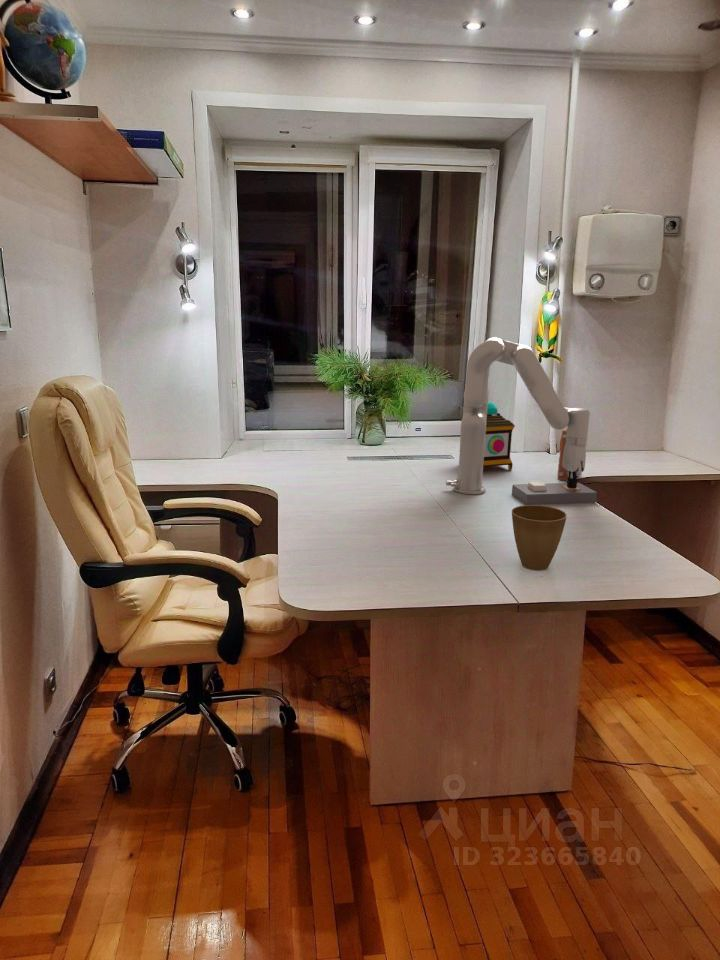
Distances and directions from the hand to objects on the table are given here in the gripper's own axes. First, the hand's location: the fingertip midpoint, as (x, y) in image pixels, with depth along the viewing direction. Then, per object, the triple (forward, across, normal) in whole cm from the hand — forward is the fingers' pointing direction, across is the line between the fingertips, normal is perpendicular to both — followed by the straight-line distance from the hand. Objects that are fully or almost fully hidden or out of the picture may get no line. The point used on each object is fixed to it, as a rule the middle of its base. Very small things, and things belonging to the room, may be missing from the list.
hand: (571, 487), depth 253 cm
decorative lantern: (+4, -50, -16) cm, 53 cm away
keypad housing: (+4, 0, -7) cm, 8 cm away
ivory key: (+1, 0, -14) cm, 14 cm away
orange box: (+4, -30, +14) cm, 33 cm away
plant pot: (+4, +63, -43) cm, 76 cm away
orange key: (+3, 0, 0) cm, 3 cm away
